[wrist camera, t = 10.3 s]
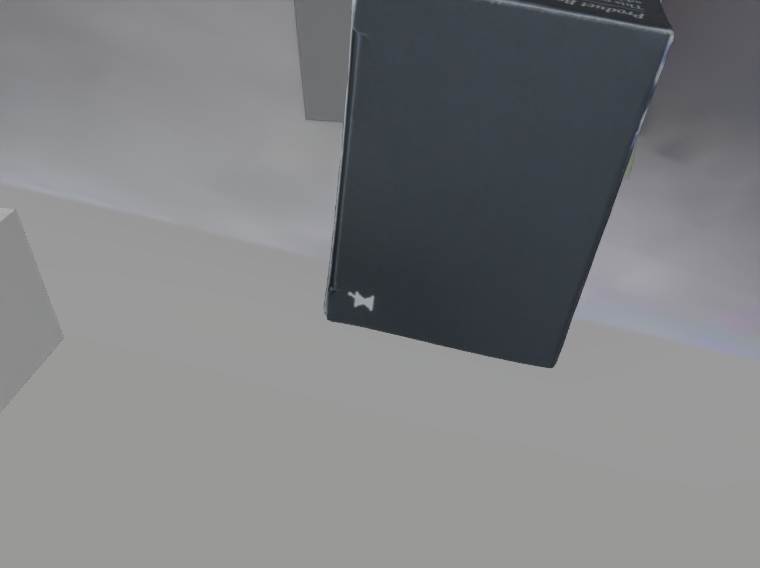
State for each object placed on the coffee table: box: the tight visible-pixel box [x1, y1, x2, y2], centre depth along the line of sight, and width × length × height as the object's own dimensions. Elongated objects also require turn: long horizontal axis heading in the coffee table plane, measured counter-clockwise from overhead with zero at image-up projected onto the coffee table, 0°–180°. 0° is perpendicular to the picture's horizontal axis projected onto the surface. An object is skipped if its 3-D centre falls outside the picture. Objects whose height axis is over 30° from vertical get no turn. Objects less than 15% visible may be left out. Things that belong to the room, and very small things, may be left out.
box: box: [324, 0, 674, 368], centre depth 19 cm, size 8×6×11 cm
